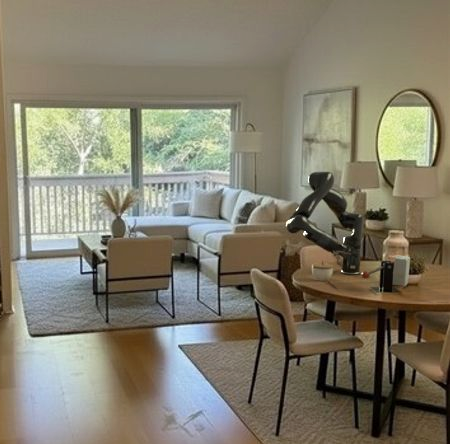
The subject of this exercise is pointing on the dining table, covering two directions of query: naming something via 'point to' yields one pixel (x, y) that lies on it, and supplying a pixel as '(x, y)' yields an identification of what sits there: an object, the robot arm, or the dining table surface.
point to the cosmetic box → (401, 270)
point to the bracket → (386, 279)
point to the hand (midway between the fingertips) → (352, 256)
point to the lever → (366, 274)
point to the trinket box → (322, 271)
